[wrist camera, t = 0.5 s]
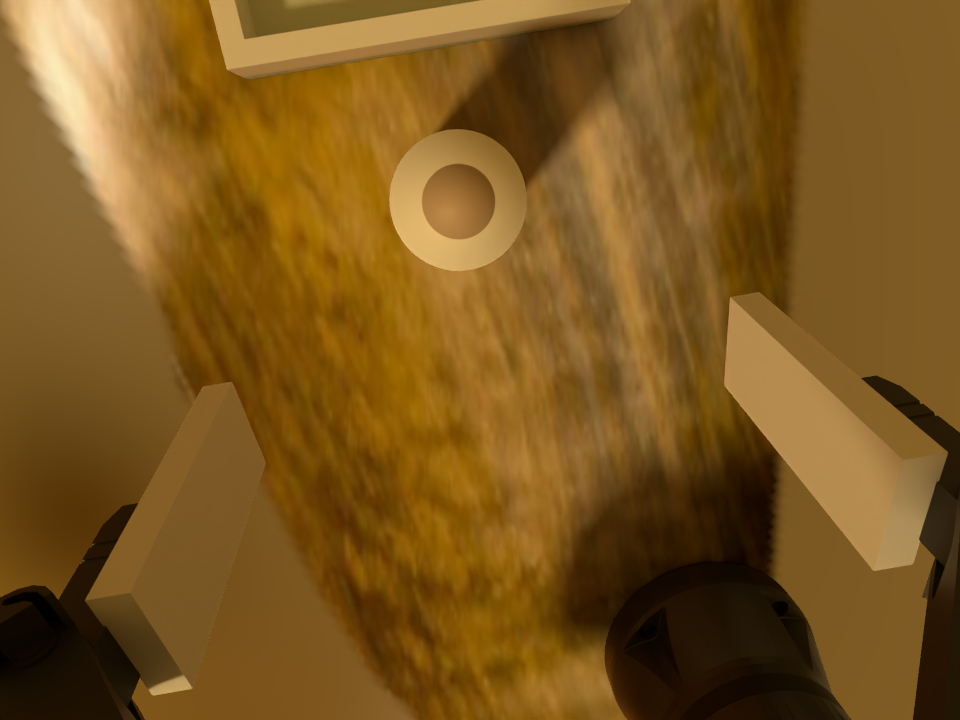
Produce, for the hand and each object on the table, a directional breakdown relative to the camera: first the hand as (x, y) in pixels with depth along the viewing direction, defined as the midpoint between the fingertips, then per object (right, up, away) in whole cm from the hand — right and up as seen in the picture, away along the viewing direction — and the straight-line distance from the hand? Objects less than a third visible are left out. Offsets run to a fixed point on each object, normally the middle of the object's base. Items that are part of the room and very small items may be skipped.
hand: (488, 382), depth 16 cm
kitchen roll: (-2, +10, +20) cm, 23 cm away
